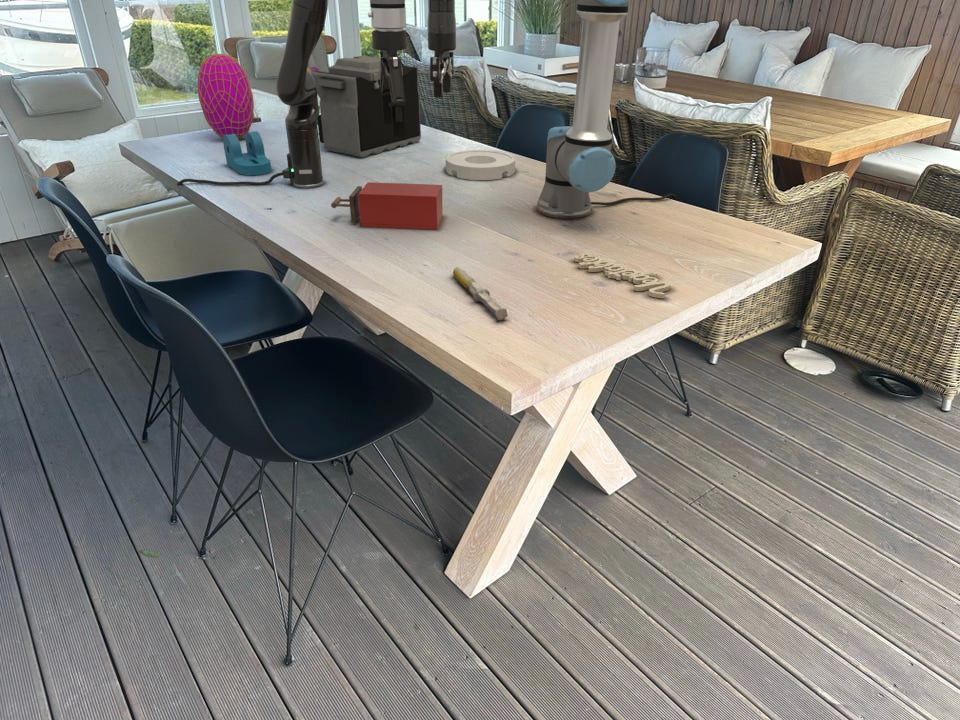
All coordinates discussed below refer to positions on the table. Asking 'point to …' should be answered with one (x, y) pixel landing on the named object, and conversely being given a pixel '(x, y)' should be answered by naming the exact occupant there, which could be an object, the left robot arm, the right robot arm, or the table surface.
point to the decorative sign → (625, 274)
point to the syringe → (479, 293)
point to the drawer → (353, 204)
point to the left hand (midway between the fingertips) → (442, 94)
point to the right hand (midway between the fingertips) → (393, 129)
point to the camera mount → (246, 154)
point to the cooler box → (362, 108)
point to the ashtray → (480, 164)
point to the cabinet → (401, 205)
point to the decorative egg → (225, 95)
